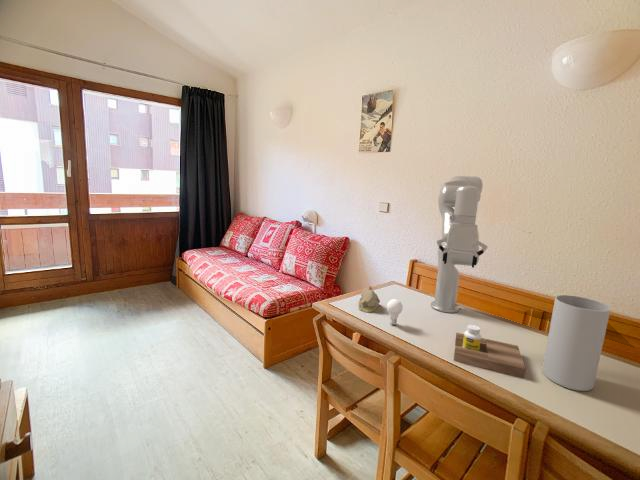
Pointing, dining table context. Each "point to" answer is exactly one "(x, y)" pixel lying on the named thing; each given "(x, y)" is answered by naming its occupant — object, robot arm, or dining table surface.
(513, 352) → the notched board
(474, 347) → the supplement bottle
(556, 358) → the cylinder vase
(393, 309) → the lightbulb
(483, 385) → the dining table surface
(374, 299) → the ceramic model
